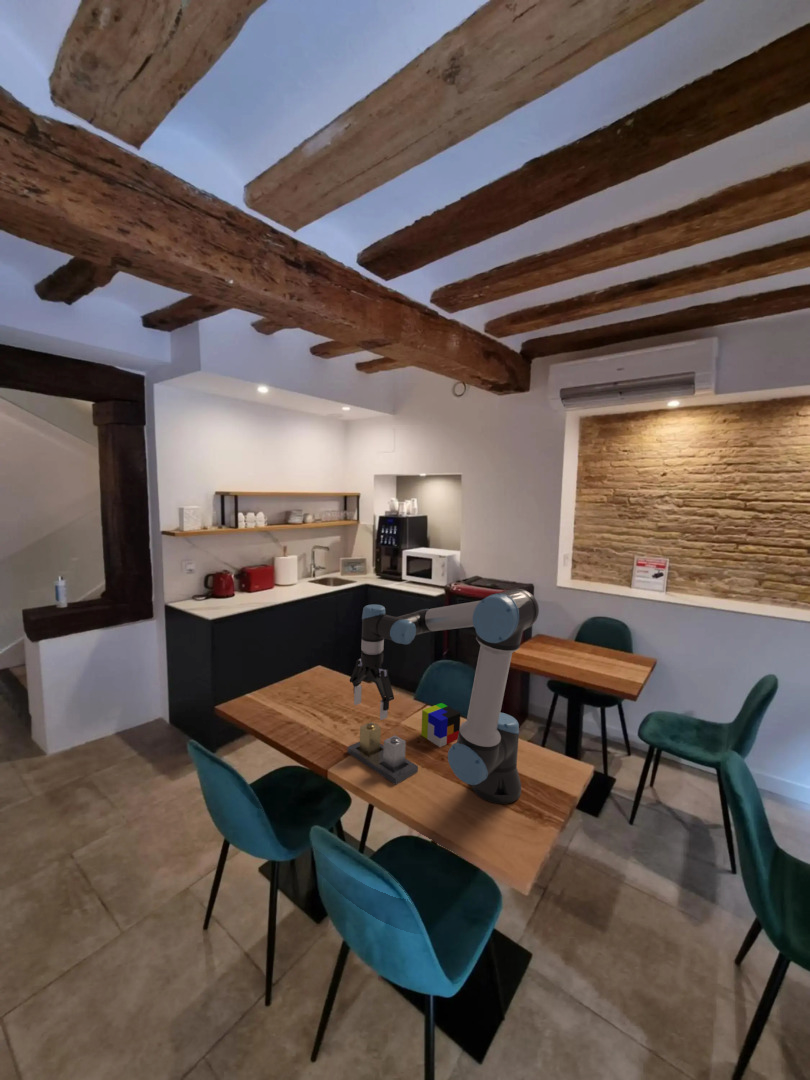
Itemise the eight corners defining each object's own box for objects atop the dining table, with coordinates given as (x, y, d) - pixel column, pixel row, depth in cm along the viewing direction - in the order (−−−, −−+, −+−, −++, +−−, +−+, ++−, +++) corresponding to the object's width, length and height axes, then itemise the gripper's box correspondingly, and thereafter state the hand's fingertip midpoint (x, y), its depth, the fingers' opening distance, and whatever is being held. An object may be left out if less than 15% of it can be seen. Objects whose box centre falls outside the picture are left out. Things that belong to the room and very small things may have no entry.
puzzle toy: (439, 747, 162) (441, 720, 161) (421, 735, 170) (422, 709, 169) (459, 738, 169) (460, 712, 168) (440, 727, 176) (441, 702, 175)
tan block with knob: (379, 754, 156) (380, 725, 155) (368, 760, 153) (369, 730, 152) (370, 748, 160) (371, 720, 159) (359, 754, 156) (360, 725, 155)
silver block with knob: (404, 770, 148) (405, 739, 147) (393, 776, 144) (394, 745, 143) (394, 763, 151) (394, 733, 150) (382, 769, 148) (383, 739, 147)
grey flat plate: (417, 771, 147) (417, 765, 147) (395, 785, 140) (395, 778, 140) (369, 741, 164) (369, 736, 164) (347, 752, 157) (347, 746, 157)
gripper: (406, 658, 147) (403, 721, 149) (357, 639, 164) (355, 695, 166) (389, 664, 141) (387, 729, 144) (340, 643, 159) (339, 701, 161)
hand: (370, 710), depth 155 cm, fingers open, 13 cm apart
